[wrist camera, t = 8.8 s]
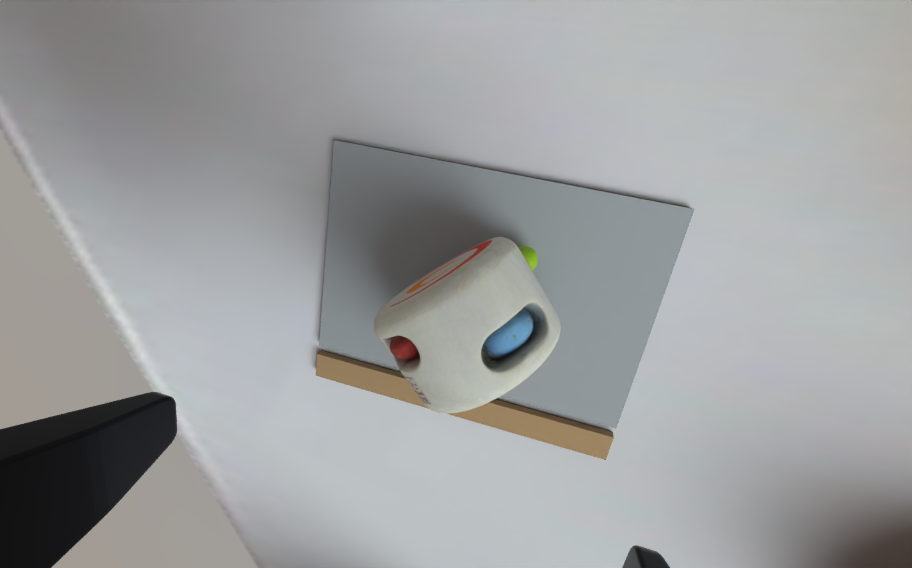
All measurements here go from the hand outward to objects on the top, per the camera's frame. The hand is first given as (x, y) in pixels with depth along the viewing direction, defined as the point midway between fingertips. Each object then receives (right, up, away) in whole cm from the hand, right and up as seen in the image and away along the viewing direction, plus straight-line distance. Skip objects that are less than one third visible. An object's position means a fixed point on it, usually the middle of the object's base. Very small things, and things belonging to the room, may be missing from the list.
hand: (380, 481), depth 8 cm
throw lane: (+2, +3, +10) cm, 11 cm away
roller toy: (+2, +3, +10) cm, 11 cm away
